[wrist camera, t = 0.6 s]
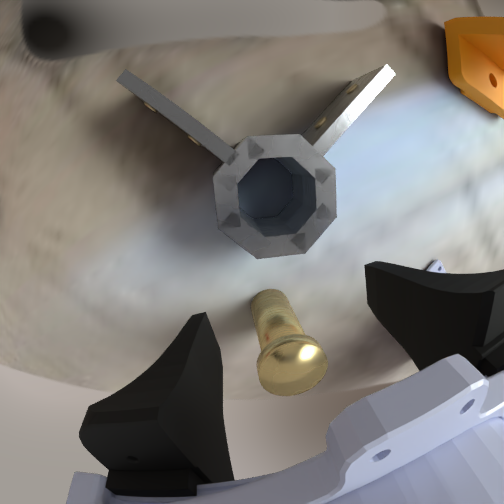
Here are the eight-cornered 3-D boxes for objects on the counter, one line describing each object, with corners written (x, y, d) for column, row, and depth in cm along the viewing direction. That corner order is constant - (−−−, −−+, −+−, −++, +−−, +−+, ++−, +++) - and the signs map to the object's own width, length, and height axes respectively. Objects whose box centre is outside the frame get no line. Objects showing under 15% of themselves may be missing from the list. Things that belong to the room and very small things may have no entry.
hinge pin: (303, 303, 23) (340, 365, 15) (268, 335, 24) (290, 404, 16) (271, 273, 22) (299, 331, 14) (234, 308, 22) (243, 376, 15)
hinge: (384, 115, 19) (423, 108, 14) (267, 252, 21) (282, 279, 17) (245, -5, 15) (254, -41, 10) (113, 131, 17) (83, 124, 12)
